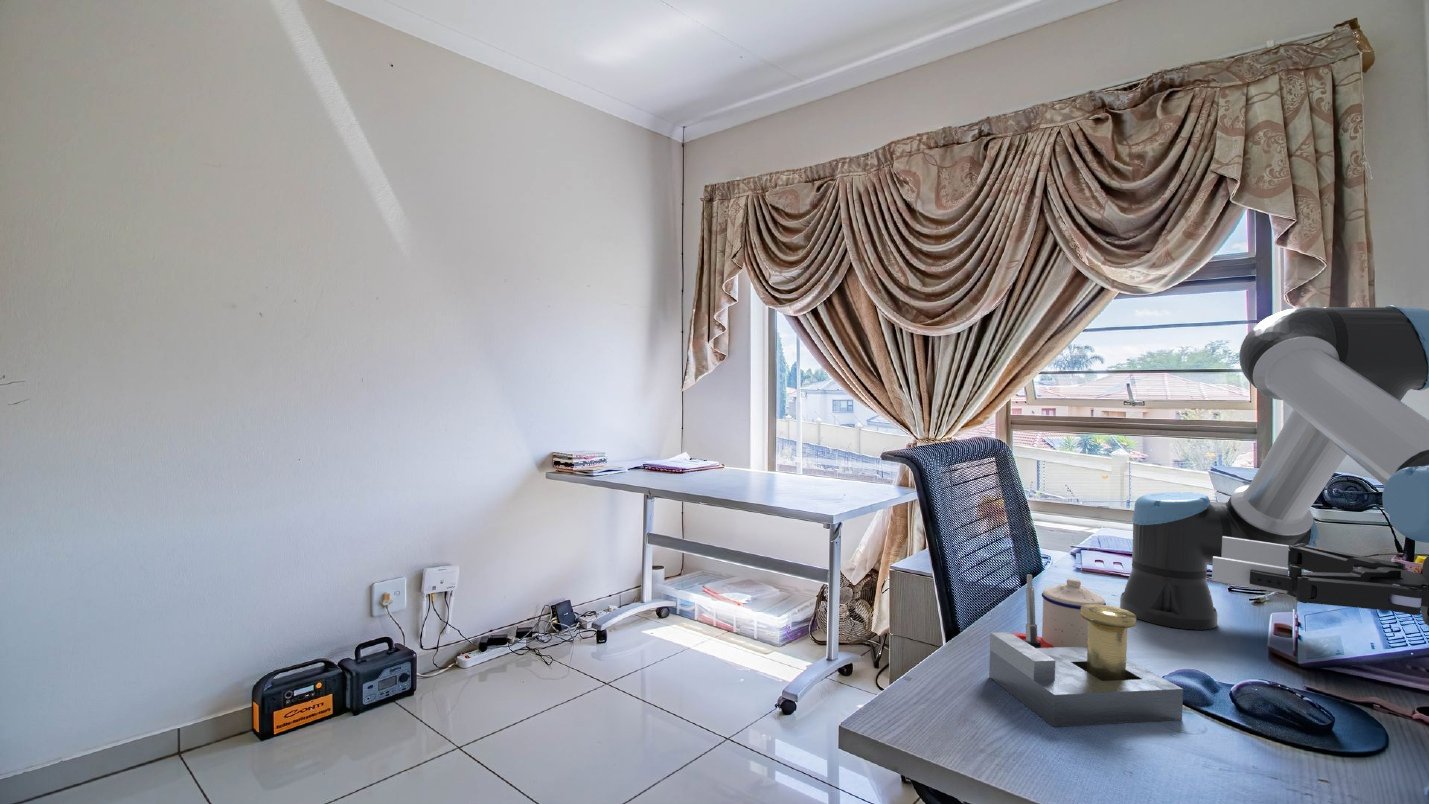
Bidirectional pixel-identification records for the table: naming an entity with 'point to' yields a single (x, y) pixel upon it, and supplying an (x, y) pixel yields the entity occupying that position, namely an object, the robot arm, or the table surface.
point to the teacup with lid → (1067, 614)
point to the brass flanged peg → (1107, 640)
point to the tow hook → (1031, 620)
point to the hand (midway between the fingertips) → (1217, 556)
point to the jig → (1079, 686)
